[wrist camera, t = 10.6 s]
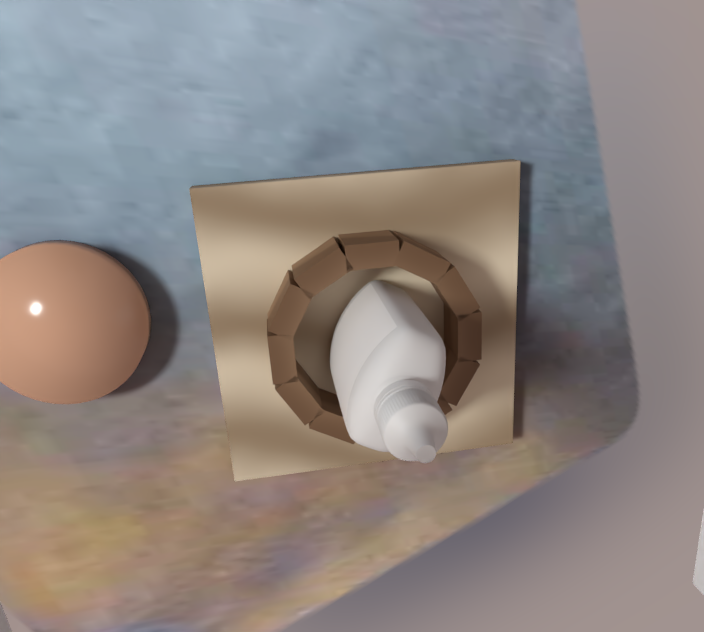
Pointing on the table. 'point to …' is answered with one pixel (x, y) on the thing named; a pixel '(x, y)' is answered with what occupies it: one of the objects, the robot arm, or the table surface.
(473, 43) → the table surface
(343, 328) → the eye dropper bottle
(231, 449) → the ring collar
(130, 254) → the table surface
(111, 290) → the peach domed part
